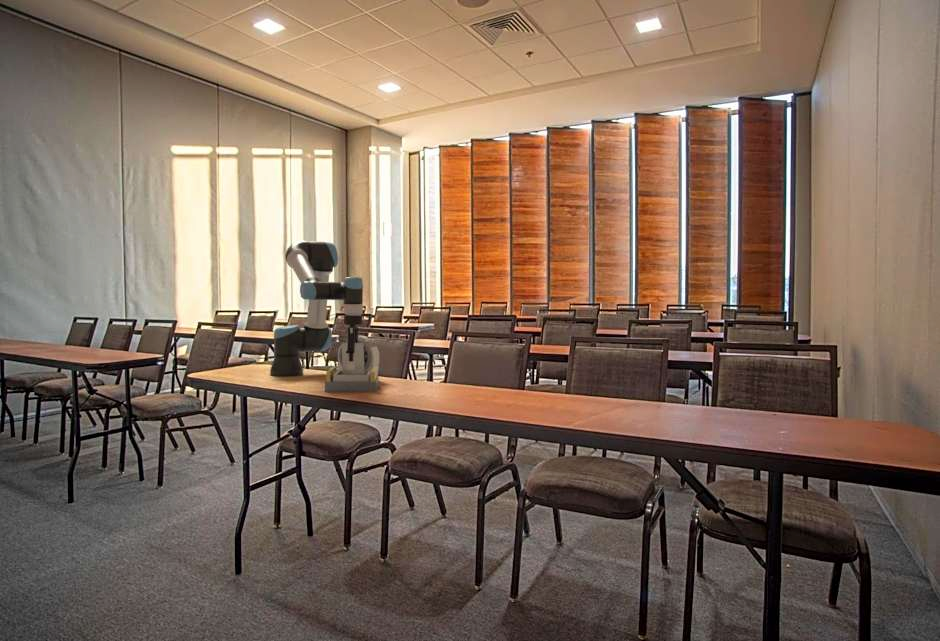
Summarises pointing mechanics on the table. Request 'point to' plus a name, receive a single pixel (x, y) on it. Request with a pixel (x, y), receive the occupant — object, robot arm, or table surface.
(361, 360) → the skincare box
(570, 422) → the table surface
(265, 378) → the table surface
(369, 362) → the alarm clock
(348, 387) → the grey display stand
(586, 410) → the table surface
